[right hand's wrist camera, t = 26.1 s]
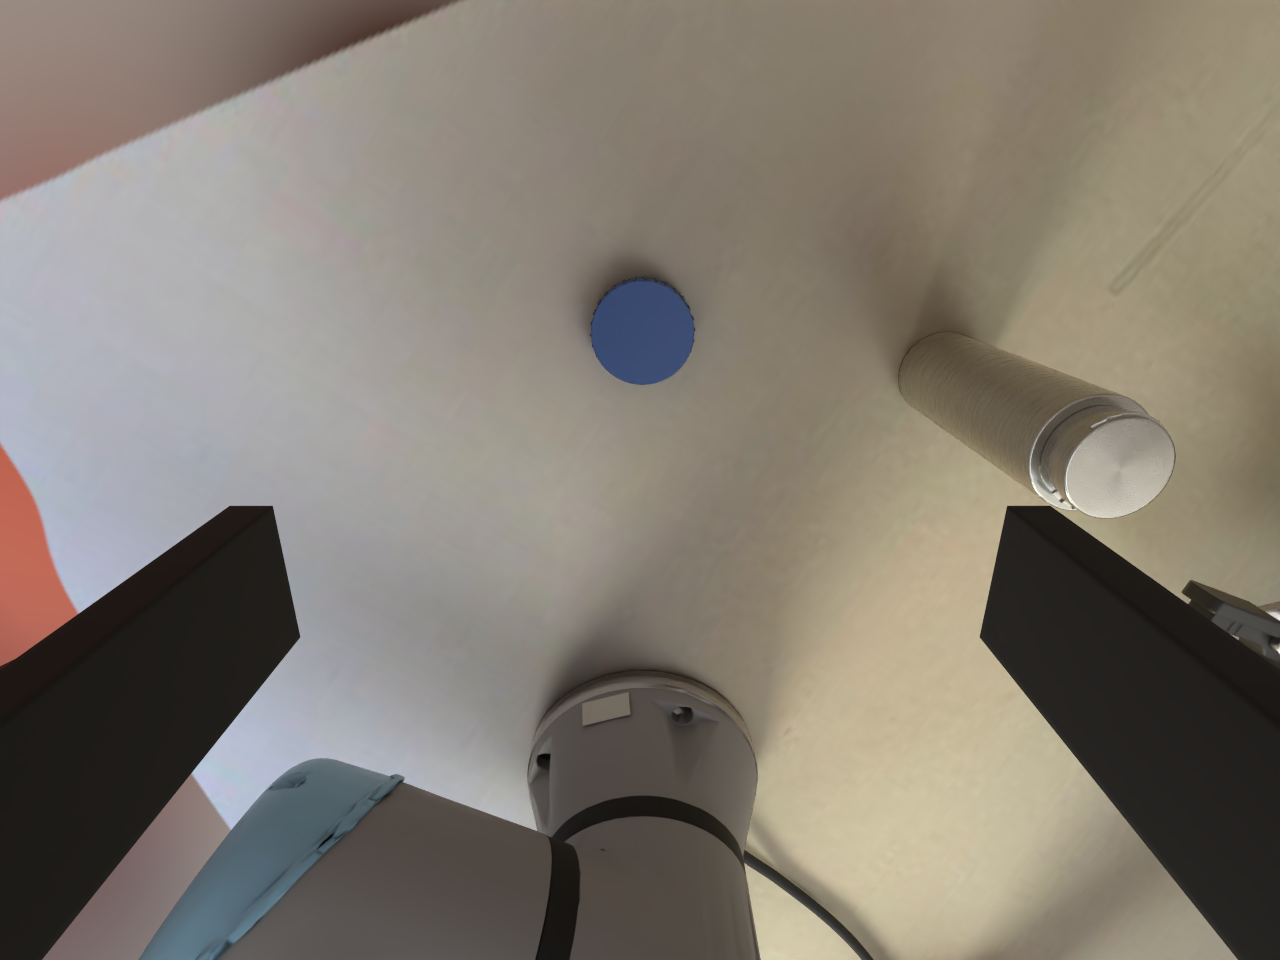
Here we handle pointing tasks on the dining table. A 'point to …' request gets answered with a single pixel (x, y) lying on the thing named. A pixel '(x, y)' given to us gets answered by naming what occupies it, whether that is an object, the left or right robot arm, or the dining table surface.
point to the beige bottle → (1041, 425)
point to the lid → (642, 331)
